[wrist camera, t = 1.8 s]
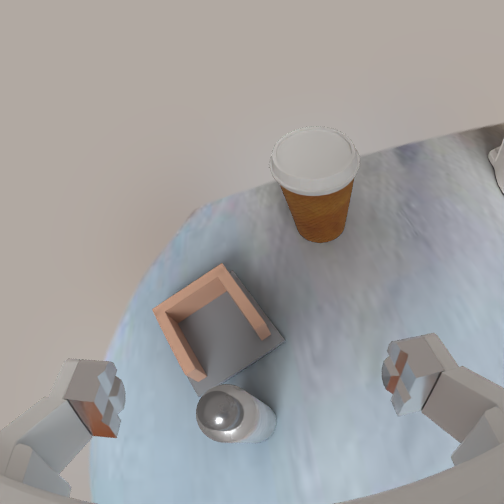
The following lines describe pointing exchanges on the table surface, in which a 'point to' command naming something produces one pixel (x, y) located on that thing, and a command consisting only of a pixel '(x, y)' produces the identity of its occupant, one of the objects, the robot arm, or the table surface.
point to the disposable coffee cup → (316, 179)
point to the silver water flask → (234, 416)
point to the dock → (216, 328)
